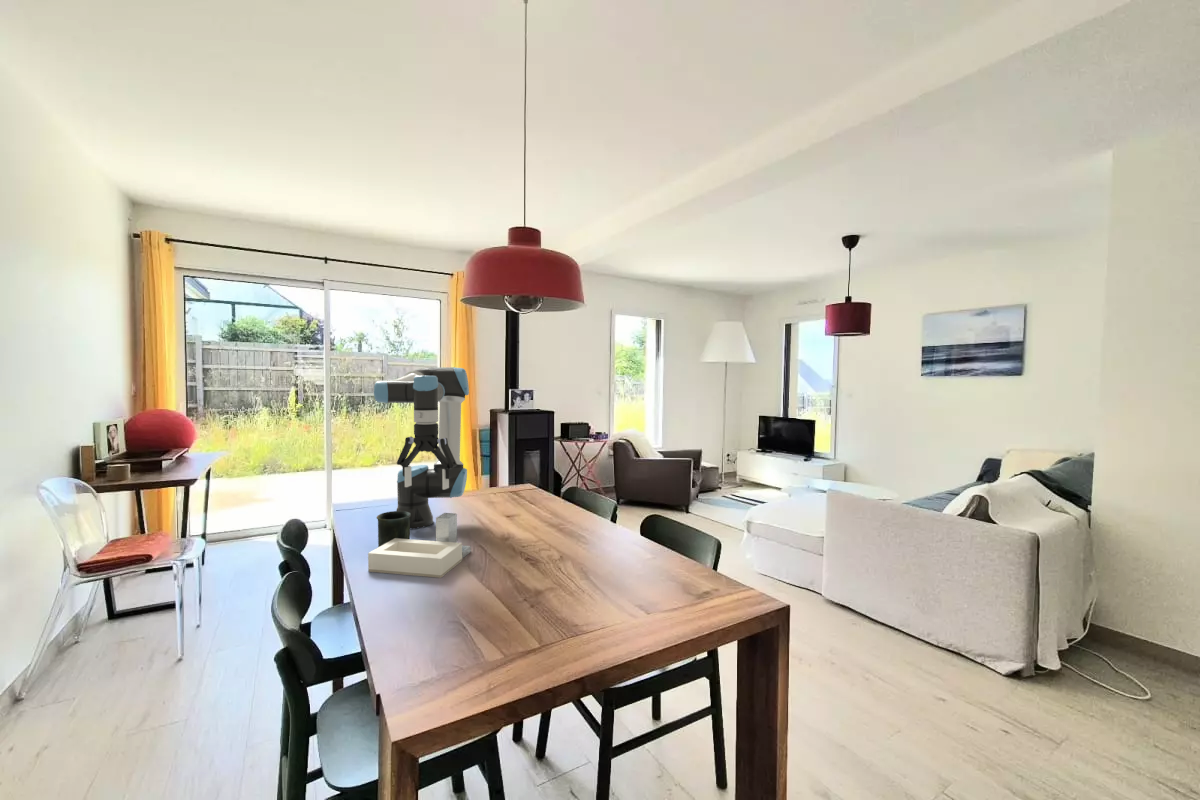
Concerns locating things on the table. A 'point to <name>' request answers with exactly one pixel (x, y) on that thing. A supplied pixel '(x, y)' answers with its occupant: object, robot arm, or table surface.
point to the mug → (393, 526)
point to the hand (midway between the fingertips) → (426, 487)
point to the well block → (415, 557)
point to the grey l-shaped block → (449, 530)
